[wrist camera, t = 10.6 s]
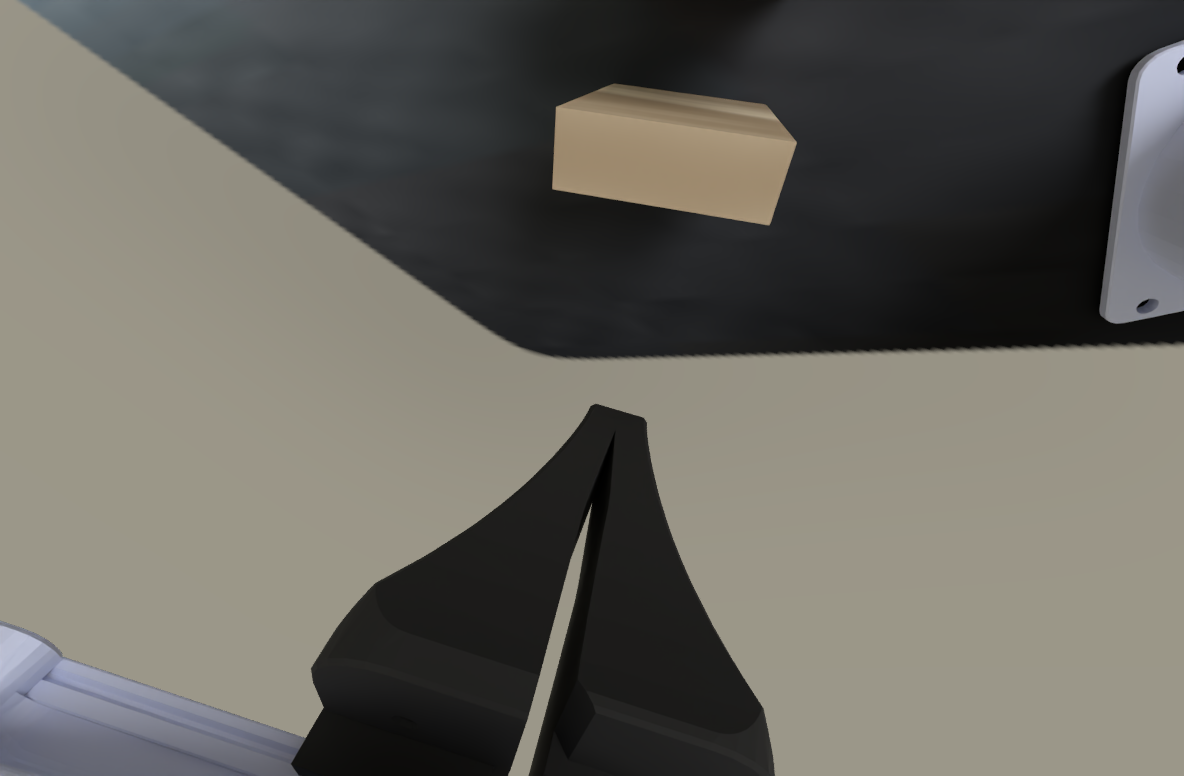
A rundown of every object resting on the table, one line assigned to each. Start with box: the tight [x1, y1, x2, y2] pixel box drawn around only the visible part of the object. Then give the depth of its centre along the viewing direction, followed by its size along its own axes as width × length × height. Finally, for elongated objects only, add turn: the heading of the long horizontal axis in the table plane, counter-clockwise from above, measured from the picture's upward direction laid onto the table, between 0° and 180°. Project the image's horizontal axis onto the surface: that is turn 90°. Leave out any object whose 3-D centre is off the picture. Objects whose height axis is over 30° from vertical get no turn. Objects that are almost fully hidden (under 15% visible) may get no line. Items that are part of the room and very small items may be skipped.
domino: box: [552, 83, 797, 225], centre depth 13 cm, size 2×5×7 cm, turn 85°
